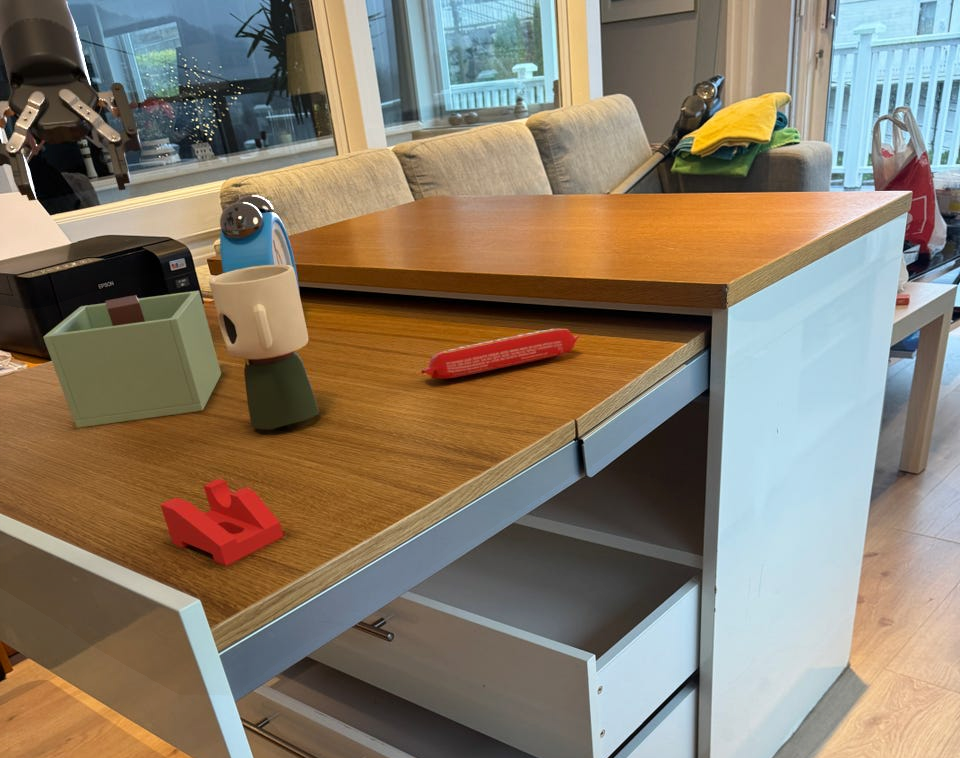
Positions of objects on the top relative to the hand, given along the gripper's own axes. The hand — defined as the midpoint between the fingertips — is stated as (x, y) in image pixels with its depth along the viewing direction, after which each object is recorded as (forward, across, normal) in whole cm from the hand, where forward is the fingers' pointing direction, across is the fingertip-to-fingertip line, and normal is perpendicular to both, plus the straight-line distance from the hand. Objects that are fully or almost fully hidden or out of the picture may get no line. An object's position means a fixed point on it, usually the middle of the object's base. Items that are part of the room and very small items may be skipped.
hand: (76, 189), depth 88 cm
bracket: (+45, +6, -22) cm, 51 cm away
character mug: (+30, +13, -6) cm, 34 cm away
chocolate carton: (+19, +2, +6) cm, 20 cm away
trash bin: (+20, +2, +7) cm, 21 cm away
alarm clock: (+6, +18, +22) cm, 29 cm away
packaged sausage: (+28, +35, -4) cm, 46 cm away
